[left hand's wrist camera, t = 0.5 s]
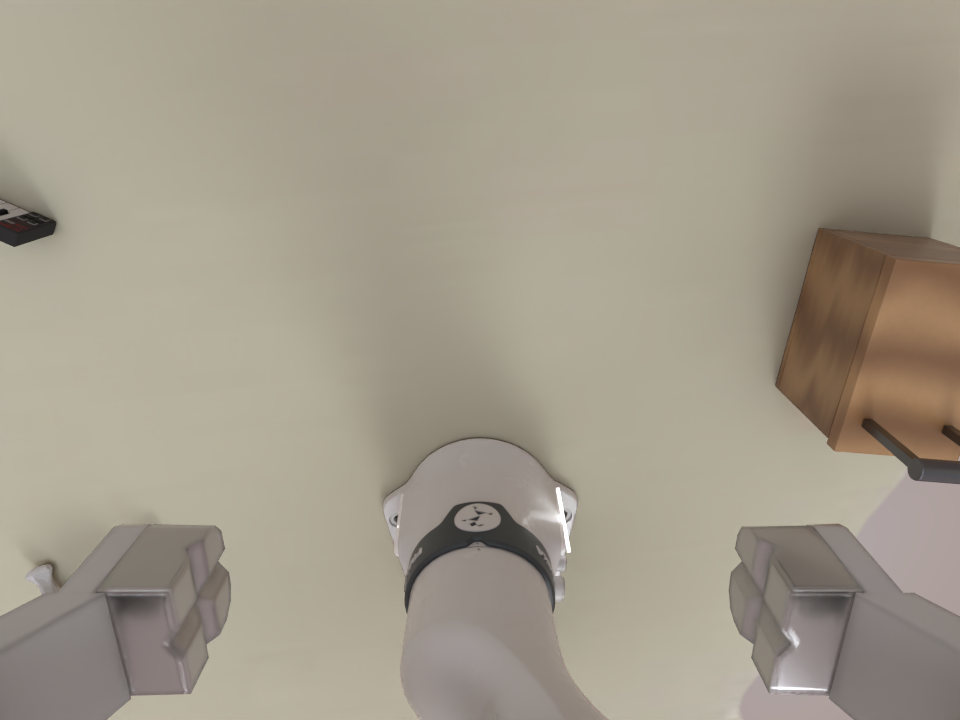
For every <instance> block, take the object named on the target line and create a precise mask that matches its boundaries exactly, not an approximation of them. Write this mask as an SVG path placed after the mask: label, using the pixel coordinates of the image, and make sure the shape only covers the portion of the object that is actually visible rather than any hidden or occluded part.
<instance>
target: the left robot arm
mask: <svg viewBox="0 0 960 720" xmlns="http://www.w3.org/2000/svg"><path fill="white" fill-rule="evenodd" d="M576 510H577V496H576V494H575V493H574V492H573V491H572V490H570V489H569V488H567V487H566V486H564V485H562V484H560V483H558V482H556V481H554V480H553V479H552V478H551V477H550V476H549V475H548V474H547V472H546V471H545V470H544V468H543V467H542V466H541V465H540V464H539V462H538V461H537V460H536V459H535V458H533V457H532V456H531V455H530V454H528V453H527V452H526V451H524V450H522V449H521V448H519V447H517V446H514V445H512V444H509V443H507V442H503V441H499V440H494V439H485V438H475V439H466V440H461V441H457V442H454V443H451V444H448V445H446V446H444V447H442V448H440V449H438V450H436V451H435V452H433V453H432V454H430V455H429V456H428V457H427V458H426V459H425V460H424V461H423V462H422V463H421V464H420V465H419V466H418V467H417V469H416V470H415V472H414V473H413V475H412V476H411V478H410V479H409V480H408V482H407V483H406V484H405V485H403V486H402V487H400V488H398V489H397V490H395V491H394V492H392V493H391V494H389V495H388V496H387V497H386V498H385V500H384V503H383V512H384V516H385V518H386V521H387V524H388V527H389V530H390V533H391V536H392V539H393V542H394V552H395V555H396V556H398V557H399V560H400V563H401V566H402V569H403V572H404V575H405V585H404V592H405V608H406V612H407V620H406V627H405V634H404V642H403V649H402V656H401V664H400V676H401V683H402V687H403V691H404V694H405V696H406V699H407V701H408V703H409V705H410V706H411V708H412V709H413V711H414V712H415V714H416V715H417V717H418V718H419V719H420V720H608V719H607V718H606V717H605V716H604V715H603V714H602V713H601V712H600V711H599V710H598V709H597V708H596V707H595V706H594V705H593V704H592V703H591V702H590V701H589V699H588V698H587V697H586V696H585V695H584V694H583V693H582V691H581V690H580V689H579V687H578V686H577V685H576V683H575V682H574V680H573V679H572V677H571V676H570V674H569V672H568V670H567V668H566V666H565V664H564V661H563V657H562V654H561V650H560V647H559V642H558V638H557V634H556V629H555V624H554V619H553V612H554V607H555V601H556V602H560V601H563V598H564V591H565V582H564V578H563V577H562V576H560V573H561V572H565V570H566V557H565V553H566V549H567V552H571V550H570V545H569V537H570V533H571V529H572V526H573V522H574V518H575V514H576ZM564 511H566V512H565V513H564ZM397 515H398V518H396V517H395V516H397ZM224 549H225V547H224V542H223V537H222V532H221V530H220V529H219V528H218V527H216V526H205V525H158V524H154V525H150V524H122V525H119V526H116V527H113V529H112V530H111V531H110V532H109V533H108V534H107V535H106V536H105V538H104V539H103V540H102V541H101V542H100V543H99V545H98V546H97V547H96V548H95V549H94V550H93V551H92V553H91V554H90V555H89V556H88V557H87V558H86V560H85V561H84V562H83V563H82V564H81V565H80V566H79V568H78V569H77V570H76V571H75V572H74V573H73V575H72V576H71V577H70V578H69V579H68V580H67V581H66V583H65V584H64V585H63V586H62V587H61V588H60V589H59V591H58V592H57V593H45V594H43V595H41V596H39V597H37V598H35V599H33V600H31V601H29V602H27V603H25V604H23V605H21V606H20V607H18V608H16V609H14V610H12V611H10V612H8V613H6V614H4V615H2V616H0V720H107V719H108V718H109V717H110V716H111V715H113V714H114V713H115V712H116V711H117V710H118V709H120V708H121V707H122V706H123V705H124V704H125V703H127V702H128V701H129V700H130V699H131V696H136V695H170V694H191V692H192V690H193V688H194V686H195V684H196V682H197V680H198V678H199V676H200V674H201V672H202V670H203V668H204V666H205V664H206V662H207V660H208V658H209V657H208V651H207V646H206V644H207V643H209V642H210V641H212V640H213V639H214V638H216V637H217V636H218V635H220V633H221V631H222V629H223V626H224V624H225V622H226V620H227V616H228V611H229V606H230V602H231V583H230V577H229V572H228V571H227V570H226V569H225V568H224V567H223V566H222V565H221V564H220V563H219V562H218V560H219V558H220V557H221V555H222V553H223V551H224ZM735 549H736V551H737V553H738V555H739V557H740V558H741V560H742V562H741V563H740V564H739V565H738V566H737V567H736V568H735V569H734V570H733V571H732V572H731V577H730V585H729V598H730V609H731V612H732V616H733V619H734V622H735V624H736V627H737V629H738V631H739V633H740V635H742V636H743V637H744V638H746V639H747V640H748V641H750V642H751V643H753V644H754V646H753V651H752V657H751V658H752V660H753V662H754V664H755V666H756V668H757V670H758V672H759V674H760V676H761V678H762V680H763V682H764V684H765V686H766V688H767V690H768V692H769V694H789V695H825V696H829V699H830V700H831V701H833V702H834V703H835V704H836V705H837V706H838V707H840V708H841V709H842V710H843V711H844V712H845V713H847V714H848V715H849V716H850V717H851V718H852V719H854V720H960V616H958V615H956V614H954V613H952V612H950V611H948V610H946V609H944V608H942V607H940V606H938V605H937V604H935V603H933V602H931V601H929V600H927V599H925V598H923V597H921V596H919V595H917V594H915V593H903V592H902V591H901V590H900V588H899V587H898V586H897V585H896V584H895V583H894V581H893V580H892V579H891V578H890V577H889V576H888V575H887V573H886V572H885V571H884V570H883V569H882V568H881V566H880V565H879V564H878V563H877V562H876V561H875V560H874V558H873V557H872V556H871V555H870V554H869V553H868V552H867V550H866V549H865V548H864V547H863V546H862V545H861V543H860V542H859V541H858V540H857V539H856V538H855V537H854V535H853V534H852V533H851V532H850V531H849V530H848V528H846V527H844V526H842V525H840V524H819V525H806V526H743V527H741V529H740V531H739V533H738V535H737V541H736V546H735Z"/></svg>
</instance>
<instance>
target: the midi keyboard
mask: <svg viewBox="0 0 960 720" xmlns="http://www.w3.org/2000/svg"><path fill="white" fill-rule="evenodd" d="M55 225H56V222H55V221H53V220H51V219H48V218H46V217H44V216H42V215H39V214H37V213H35V212H31V213H30V212H27V211H25V210H23V209H21V208H18V207H16V206H14V205H11V204H9V203H6V202H4V201H2V200H0V241H2V242H4V243H6V244H9V245H11V246H13V247H15V246H18V245H21V244H25V243H28V242H31V241H34V240H37V239H40V238H43V237H46V236H49V235H52V234H53V233H54V229H55Z"/></svg>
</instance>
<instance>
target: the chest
mask: <svg viewBox="0 0 960 720" xmlns="http://www.w3.org/2000/svg"><path fill="white" fill-rule="evenodd" d="M886 255H892V256H903V257H915V258H926V259H937V260H948V261H959V262H960V247H957V246H953V245H950V244H947V243H944V242H941V241H938V240H934V239H931V238H921V237H910V236H899V235H888V234H877V233H866V232H855V231H844V230H833V229H822V228H819V230H818V233H817V237H816V240H815V244H814V248H813V251H812V255H811V259H810V262H809V266H808V270H807V273H806V277H805V280H804V284H803V288H802V291H801V295H800V299H799V302H798V306H797V309H796V313H795V317H794V320H793V324H792V328H791V331H790V335H789V339H788V342H787V346H786V349H785V353H784V357H783V360H782V364H781V368H780V371H779V375H778V378H777V382H776V387H777V388H778V389H779V390H780V391H781V392H782V393H783V394H784V395H785V396H786V397H787V398H788V399H789V400H790V401H791V402H792V403H793V404H794V405H795V406H796V407H797V408H798V409H799V410H800V411H801V412H802V413H803V414H804V415H805V416H806V417H807V418H808V419H809V420H810V421H811V422H812V423H813V424H814V425H815V426H816V427H817V428H818V429H819V430H820V431H821V432H822V433H823V434H824V435H825V436H826V437H827V438H829V435H830V431H831V428H832V425H833V422H834V419H835V416H836V413H837V409H838V406H839V403H840V400H841V397H842V394H843V390H844V387H845V384H846V381H847V378H848V375H849V372H850V368H851V365H852V362H853V359H854V356H855V353H856V349H857V346H858V343H859V340H860V337H861V334H862V331H863V327H864V324H865V321H866V318H867V315H868V312H869V308H870V305H871V302H872V299H873V296H874V293H875V290H876V286H877V283H878V280H879V277H880V274H881V271H882V267H883V264H884V261H885V258H886Z"/></svg>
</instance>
